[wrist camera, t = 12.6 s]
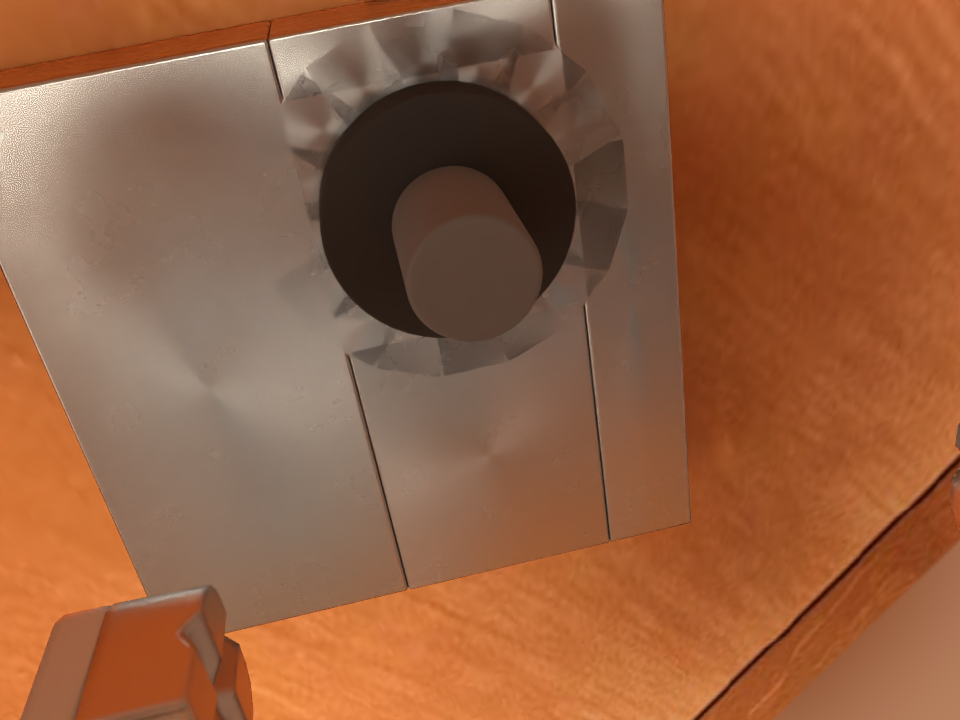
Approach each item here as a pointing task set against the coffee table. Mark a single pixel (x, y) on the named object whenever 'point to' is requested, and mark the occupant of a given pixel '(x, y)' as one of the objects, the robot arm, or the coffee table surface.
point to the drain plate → (344, 305)
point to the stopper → (446, 211)
